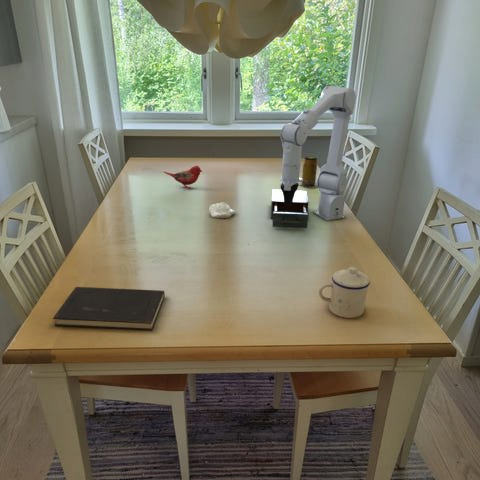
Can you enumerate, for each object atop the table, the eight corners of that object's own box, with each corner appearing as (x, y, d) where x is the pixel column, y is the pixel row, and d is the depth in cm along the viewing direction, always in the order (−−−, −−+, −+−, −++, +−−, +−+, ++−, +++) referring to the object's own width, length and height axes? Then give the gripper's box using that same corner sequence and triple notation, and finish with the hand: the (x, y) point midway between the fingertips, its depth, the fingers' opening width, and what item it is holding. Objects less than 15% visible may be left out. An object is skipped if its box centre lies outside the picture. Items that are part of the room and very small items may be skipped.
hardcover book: (152, 330, 111) (151, 322, 110) (54, 326, 112) (52, 317, 111) (164, 297, 125) (164, 289, 124) (77, 293, 126) (76, 285, 125)
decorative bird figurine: (201, 191, 203) (201, 167, 198) (162, 187, 207) (161, 163, 202) (203, 189, 205) (203, 165, 200) (165, 185, 209) (164, 161, 204)
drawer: (307, 232, 163) (309, 218, 161) (272, 231, 164) (273, 216, 161) (304, 215, 178) (306, 201, 175) (272, 214, 179) (273, 200, 176)
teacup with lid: (360, 301, 125) (367, 260, 119) (367, 319, 118) (376, 277, 112) (314, 300, 125) (319, 259, 119) (319, 318, 118) (324, 275, 112)
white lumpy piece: (205, 199, 180) (230, 197, 183) (205, 210, 182) (230, 208, 185) (212, 207, 172) (238, 205, 175) (212, 219, 174) (238, 217, 177)
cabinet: (306, 220, 176) (308, 202, 172) (270, 218, 176) (271, 201, 173) (304, 207, 188) (306, 190, 184) (271, 206, 188) (272, 189, 185)
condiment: (308, 181, 219) (310, 154, 212) (322, 186, 213) (325, 158, 207) (296, 184, 215) (299, 156, 209) (310, 188, 209) (313, 160, 203)
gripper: (301, 171, 146) (297, 214, 153) (305, 159, 158) (302, 200, 165) (278, 169, 147) (276, 212, 154) (284, 158, 159) (281, 198, 166)
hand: (288, 205), depth 160 cm, fingers closed
